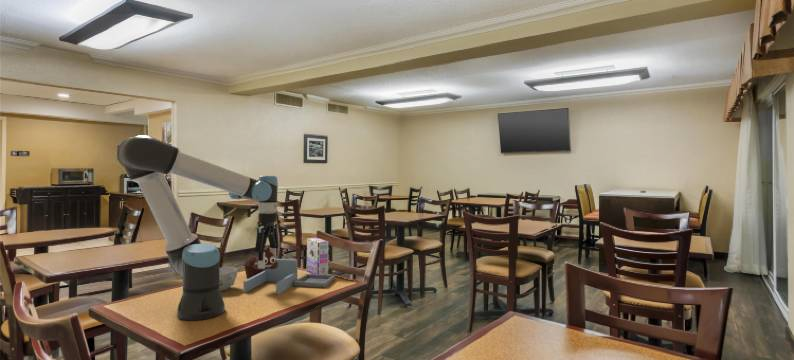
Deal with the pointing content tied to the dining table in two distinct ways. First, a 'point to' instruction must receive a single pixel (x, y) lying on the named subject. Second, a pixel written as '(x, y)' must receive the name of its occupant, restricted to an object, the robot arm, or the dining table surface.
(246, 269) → the muffin
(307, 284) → the tray
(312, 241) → the candy box
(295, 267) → the bay
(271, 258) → the poop emoji
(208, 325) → the dining table surface
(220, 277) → the teacup
